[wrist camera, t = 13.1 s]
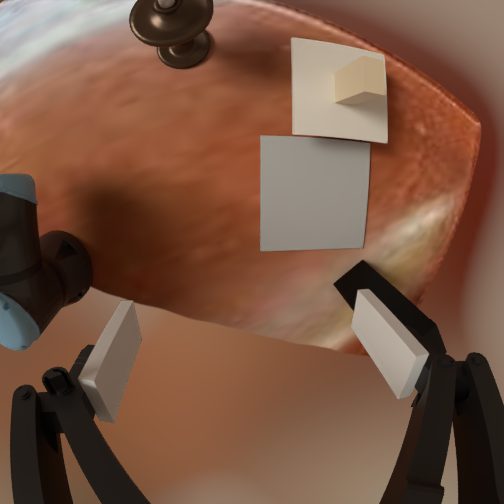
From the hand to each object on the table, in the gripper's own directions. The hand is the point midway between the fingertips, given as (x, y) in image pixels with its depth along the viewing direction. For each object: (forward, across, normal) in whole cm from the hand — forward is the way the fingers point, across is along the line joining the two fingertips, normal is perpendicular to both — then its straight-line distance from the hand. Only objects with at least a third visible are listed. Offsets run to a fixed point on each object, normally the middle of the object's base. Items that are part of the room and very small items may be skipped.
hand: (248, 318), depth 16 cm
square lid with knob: (+29, +17, +20) cm, 39 cm away
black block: (+35, +25, -16) cm, 46 cm away
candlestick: (+35, -8, +29) cm, 46 cm away
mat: (+35, +15, +2) cm, 38 cm away
